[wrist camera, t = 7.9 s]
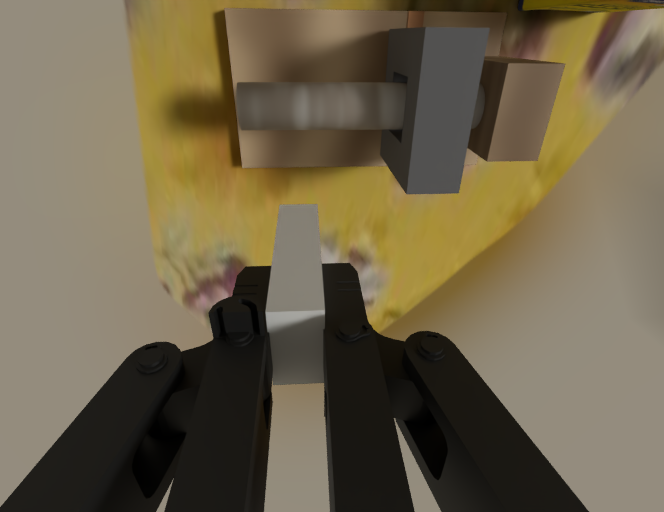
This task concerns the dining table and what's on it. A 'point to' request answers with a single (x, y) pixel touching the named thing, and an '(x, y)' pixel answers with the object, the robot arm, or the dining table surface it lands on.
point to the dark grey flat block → (433, 104)
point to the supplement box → (590, 5)
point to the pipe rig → (366, 87)
